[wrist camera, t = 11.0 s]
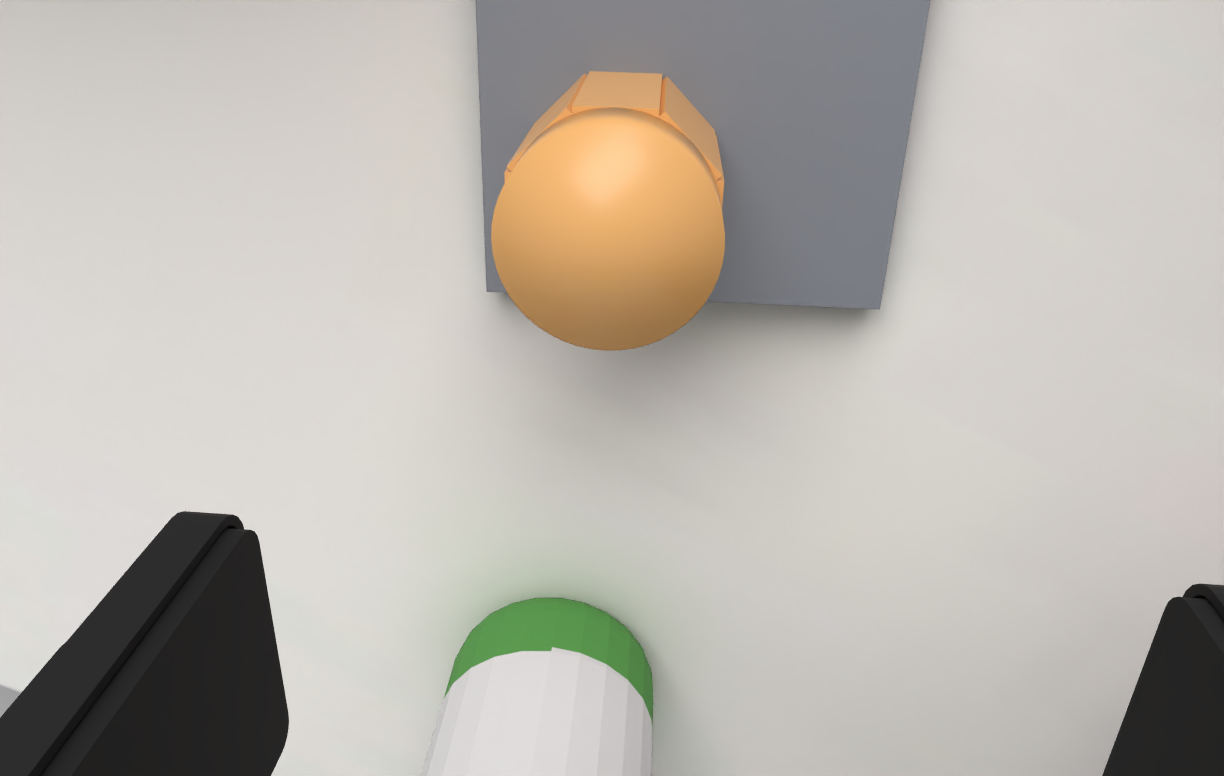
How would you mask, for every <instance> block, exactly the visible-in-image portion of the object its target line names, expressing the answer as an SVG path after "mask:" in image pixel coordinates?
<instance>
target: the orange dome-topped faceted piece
mask: <svg viewBox="0 0 1224 776" xmlns="http://www.w3.org/2000/svg"><path fill="white" fill-rule="evenodd" d="M504 175H505V184H504V186H503V188H502V190H501V192H500V194H499V197H498V200H497V203H496V206H495V209H494V214H493V220H492V232H491V242H492V252H493V257H494V261H495V265H496V269H497V272H498V274H499V277H500V279H501V282H502V284H503V286H504V287H505V289H506V291H507V293H508V295H509V296H510V298H511V299H512V300H513V302H514V303H515V305H516V306H517V307H518V308H519V309H520V310H521V311H522V313H523V314H524V315H525V316H526V317H527V318H528V319H530V320H531V321H532V322H533V323H534V324H535V325H537V326H538V327H539V328H541V329H542V330H544V331H545V332H547V333H549V334H550V335H552V336H554V337H556V338H558V339H560V340H562V341H565V342H568V343H570V344H573V345H576V346H580V347H584V348H589V349H596V350H625V349H633V348H637V347H641V346H645V345H648V344H651V343H653V342H656V341H659V340H661V339H663V338H665V337H667V336H668V335H670V334H672V333H674V332H675V331H677V330H678V329H679V328H681V327H682V326H684V325H685V324H686V323H687V322H688V321H689V320H690V319H691V318H692V317H694V316H695V315H696V314H697V312H698V311H699V310H700V309H701V307H702V306H703V305H704V304H705V302H706V301H707V299H708V297H709V296H710V294H711V293H712V291H713V289H714V287H715V284H716V282H717V280H718V278H719V274H720V271H721V267H722V264H723V258H724V251H725V231H724V222H723V215H722V204H723V191H724V176H723V171H722V165H721V159H720V153H719V147H718V142H717V136H716V134H715V130H714V129H713V128H712V126H711V125H710V124H709V123H708V122H707V121H706V120H705V118H704V117H703V116H702V115H701V114H700V113H699V112H698V111H697V109H696V108H695V107H694V106H693V105H692V104H691V103H690V101H689V100H688V99H687V98H686V97H685V96H684V95H683V94H682V92H681V91H680V90H679V89H678V88H677V87H676V86H675V85H674V83H673V82H672V81H671V80H670V79H669V78H668V77H667V76H666V77H665V78H664V79H663V80H662V74H655V73H627V72H599V71H589V73H588V75H586V74H585V73H584V74H583V75H582V76H581V77H580V78H579V79H578V80H577V81H576V82H575V83H574V84H573V85H572V86H571V87H570V88H569V89H568V90H567V91H566V92H565V93H564V94H563V95H562V96H561V97H560V98H559V99H558V100H557V101H556V102H555V103H554V104H553V105H552V106H551V107H550V108H549V109H548V110H547V111H546V112H545V113H544V114H543V115H542V116H541V117H540V118H539V119H538V120H537V121H536V122H535V123H534V125H533V126H532V128H531V129H530V131H529V132H528V134H527V136H526V137H525V139H524V140H523V142H522V143H521V145H520V147H519V148H518V150H517V151H516V153H515V154H514V156H513V157H512V159H511V161H510V162H509V164H508V165H507V169H506V170H505V172H504Z"/></svg>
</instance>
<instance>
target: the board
mask: <svg viewBox="0 0 1224 776" xmlns="http://www.w3.org/2000/svg"><path fill="white" fill-rule="evenodd" d="M929 5H930V0H476V18H477V45H478V72H479V99H480V126H481V153H482V180H483V206H484V233H485V260H486V287H487V292H506V293H507V291H506V289H505V287H504V286H503V284H502V282H501V279H500V277H499V274H498V272H497V269H496V265H495V261H494V257H493V252H492V242H491V232H492V220H493V214H494V209H495V206H496V203H497V200H498V197H499V194H500V192H501V190H502V188H503V186H504V184H505V175H504V172H505V170H506V169H507V165H508V164H509V162H510V161H511V159H512V157H513V156H514V154H515V153H516V151H517V150H518V148H519V147H520V145H521V143H522V142H523V140H524V139H525V137H526V136H527V134H528V132H529V131H530V129H531V128H532V126H533V125H534V123H535V122H536V121H537V120H538V119H539V118H540V117H541V116H542V115H543V114H544V113H545V112H546V111H547V110H548V109H549V108H550V107H551V106H552V105H553V104H554V103H555V102H556V101H557V100H558V99H559V98H560V97H561V96H562V95H563V94H564V93H565V92H566V91H567V90H568V89H569V88H570V87H571V86H572V85H573V84H574V83H575V82H576V81H577V80H578V79H579V78H580V77H581V76H582V75H583V74H584V73H585V74H586V75H588V73H589V71H599V72H627V73H655V74H662V80H663V79H664V78H665V77H666V76H667V77H668V78H669V79H670V80H671V81H672V82H673V83H674V85H675V86H676V87H677V88H678V89H679V90H680V91H681V92H682V94H683V95H684V96H685V97H686V98H687V99H688V100H689V101H690V103H691V104H692V105H693V106H694V107H695V108H696V109H697V111H698V112H699V113H700V114H701V115H702V116H703V117H704V118H705V120H706V121H707V122H708V123H709V124H710V125H711V126H712V128H713V129H714V130H715V134H716V136H717V142H718V147H719V153H720V159H721V165H722V171H723V176H724V191H723V204H722V215H723V222H724V231H725V251H724V258H723V264H722V267H721V271H720V274H719V278H718V280H717V282H716V284H715V287H714V289H713V291H712V293H711V294H710V296H709V297H708V299H707V301H706V302H727V303H749V304H771V305H794V306H816V307H838V308H860V309H880V305H881V299H882V293H883V287H884V281H885V275H886V269H887V262H888V256H889V250H890V244H891V238H892V232H893V226H894V220H895V213H896V207H897V201H898V195H899V189H900V183H901V177H902V171H903V165H904V158H905V152H906V146H907V140H908V134H909V128H910V122H911V116H912V109H913V103H914V97H915V91H916V85H917V79H918V73H919V67H920V61H921V54H922V48H923V42H924V36H925V30H926V24H927V18H928V12H929Z"/></svg>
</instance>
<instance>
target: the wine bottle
mask: <svg viewBox="0 0 1224 776" xmlns="http://www.w3.org/2000/svg"><path fill="white" fill-rule="evenodd" d="M652 723H653V684H652V673H651V669H650V667H649V664H648V662H647V659H646V657H645V654H644V652H643V649H642V647H641V645H640V644H639V643H638V642H637V640H636V639H635V638H634V637H633V635H632V634H631V633H630V631H629V630H628V629H627V628H626V627H625V626H624V625H622V624H621V623H620V622H618V621H617V620H616V619H614V618H613V617H612V616H610V615H609V614H608V613H606V612H604V611H602V610H599V609H597V608H595V607H593V606H590V605H588V604H586V603H582V602H577V601H573V600H568V599H563V598H534V599H529V600H525V601H520V602H516V603H512V604H510V605H508V606H506V607H504V608H502V609H500V610H498V611H495V612H493V613H491V614H490V615H489V616H488V617H487V618H485V619H484V620H483V621H482V622H481V623H480V624H479V625H478V626H476V627H475V628H474V629H473V630H472V631H471V632H470V634H469V636H468V637H467V639H466V641H465V643H464V644H463V646H462V648H461V649H460V651H459V653H458V655H457V657H456V659H455V662H454V666H453V669H452V673H451V676H450V680H449V683H448V687H447V690H446V693H445V697H444V700H443V701H442V704H441V708H440V711H439V715H438V718H437V721H436V725H435V728H434V732H433V735H432V739H431V742H430V746H429V749H428V753H427V756H426V759H425V763H424V766H423V770H422V773H421V776H652V750H653V741H652Z"/></svg>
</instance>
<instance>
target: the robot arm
mask: <svg viewBox="0 0 1224 776" xmlns="http://www.w3.org/2000/svg"><path fill="white" fill-rule="evenodd" d="M288 725H289V716H288V709H287V703H286V697H285V691H284V685H283V679H282V673H281V668H280V662H279V656H278V650H277V644H276V638H275V632H274V626H273V620H272V615H271V609H270V603H269V597H268V591H267V585H266V579H265V573H264V567H263V562H262V556H261V550H260V544H259V540H258V536H257V535H256V533H255V532H254V531H252V530H244V527H243V524H242V522H241V520H240V519H239V518H238V517H237V516H235V515H228V514H214V513H200V512H186V511H183V512H180V513H177V514H176V515H175V516H174V517H172V518H171V519H170V520H169V522H168V523H167V524H166V525H165V526H164V528H163V529H162V530H161V531H160V532H159V533H158V535H157V536H156V537H155V538H154V539H153V541H152V542H151V543H150V544H149V545H148V546H147V548H146V549H145V550H144V551H143V552H142V553H141V555H140V556H139V557H138V558H137V559H136V561H135V562H134V563H133V564H132V565H131V566H130V568H129V569H128V570H127V571H126V572H125V574H124V575H123V576H122V577H121V578H120V579H119V581H118V582H117V583H116V584H115V585H114V586H113V588H112V589H111V590H110V591H109V592H108V594H107V595H106V596H105V597H104V598H103V599H102V601H101V602H100V603H99V604H98V605H97V607H96V608H95V609H94V610H93V611H92V612H91V614H90V615H89V616H88V617H87V618H86V619H85V621H84V622H83V623H82V624H81V625H80V627H79V628H78V629H77V630H76V631H75V632H74V634H73V635H72V636H71V637H70V638H69V640H68V641H67V642H66V643H65V644H63V645H62V646H61V647H60V648H59V649H58V651H57V652H56V653H55V654H54V655H53V656H52V658H51V659H50V660H49V661H48V662H47V663H46V665H45V666H44V667H43V668H42V669H41V671H40V672H39V673H38V674H37V675H36V676H35V678H34V679H33V680H32V681H31V682H30V683H29V685H28V686H27V687H26V688H25V689H24V691H23V692H22V693H21V694H20V695H19V696H18V698H17V699H16V700H15V701H14V702H13V703H12V705H11V706H10V707H9V708H8V709H7V710H6V712H5V713H4V714H3V715H2V717H1V718H0V776H271V774H272V772H273V770H274V768H275V766H276V764H277V762H278V760H279V758H280V756H281V753H282V751H283V748H284V746H285V742H286V739H287V733H288ZM1102 776H1224V585H1211V584H1196V585H1192V586H1191V587H1190V588H1189V589H1188V590H1186V592H1185V594H1184V596H1183V597H1175V598H1172V599H1171V600H1170V601H1169V602H1168V604H1167V606H1166V607H1165V610H1164V612H1163V615H1162V618H1161V620H1160V623H1159V626H1158V628H1157V631H1156V634H1155V636H1154V639H1153V642H1152V644H1151V647H1150V650H1149V652H1148V655H1147V658H1146V660H1145V663H1144V666H1143V669H1142V671H1141V674H1140V677H1139V679H1138V682H1137V685H1136V687H1135V690H1134V693H1133V695H1132V698H1131V701H1130V703H1129V706H1128V709H1127V711H1126V714H1125V717H1124V719H1123V722H1122V725H1121V727H1120V730H1119V733H1118V735H1117V738H1116V741H1115V743H1114V746H1113V749H1112V751H1111V754H1110V757H1109V759H1108V762H1107V765H1106V767H1105V770H1104V773H1103V775H1102Z"/></svg>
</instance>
